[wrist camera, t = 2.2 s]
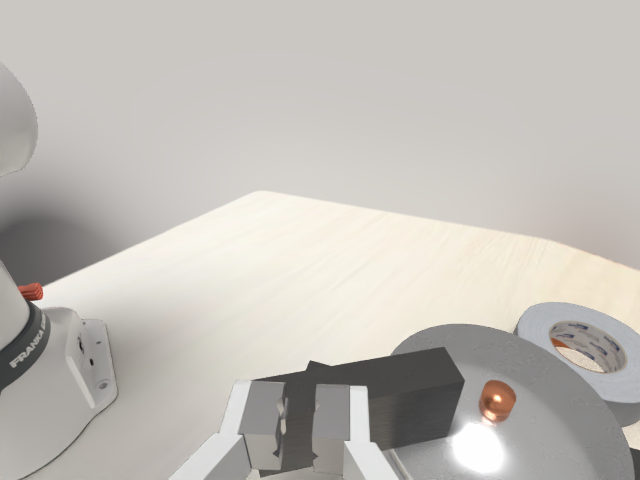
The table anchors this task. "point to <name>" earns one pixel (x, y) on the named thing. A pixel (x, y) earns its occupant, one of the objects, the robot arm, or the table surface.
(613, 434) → the lid
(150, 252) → the table surface
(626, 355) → the tape roll
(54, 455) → the robot arm
